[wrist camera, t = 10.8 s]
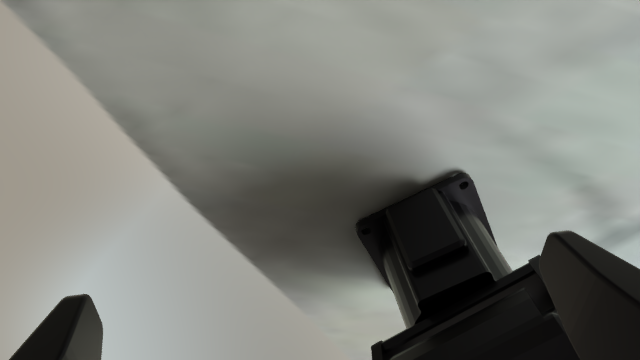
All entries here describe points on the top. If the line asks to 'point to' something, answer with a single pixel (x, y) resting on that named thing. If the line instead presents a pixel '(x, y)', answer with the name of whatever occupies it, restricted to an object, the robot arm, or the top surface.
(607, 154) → the top surface
